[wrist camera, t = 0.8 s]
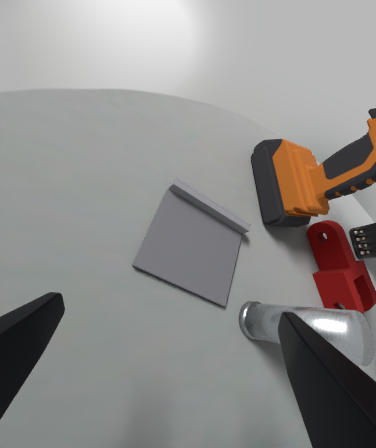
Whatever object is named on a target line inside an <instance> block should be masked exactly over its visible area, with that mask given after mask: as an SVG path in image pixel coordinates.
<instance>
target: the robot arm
mask: <svg viewBox="0 0 376 448" xmlns="http://www.w3.org/2000/svg"><path fill="white" fill-rule="evenodd" d="M64 311H65V307H64V302H63V297H62V294H61V293H56V292H50V293H48V294H45V295H43V296H41V297H39V298H37V299H35V300H33V301H31V302H29V303H27V304H25V305H23V306H21V307H19V308H17V309H15V310H13V311H11V312H9V313H7V314H5V315H3V316H1V317H0V419H1V418H2V416H3V414H4V413H5V411H6V410H7V408H8V407H9V405H10V404H11V402H12V401H13V399H14V397H15V396H16V394H17V393H18V391H19V390H20V388H21V387H22V385H23V383H24V382H25V380H26V379H27V377H28V376H29V374H30V373H31V371H32V369H33V368H34V366H35V365H36V363H37V362H38V360H39V359H40V357H41V355H42V354H43V352H44V350H45V349H46V347H47V345H48V343H49V341H50V339H51V337H52V336H53V334H54V332H55V330H56V328H57V326H58V324H59V322H60V320H61V318H62V316H63V314H64ZM278 335H279V339H280V344H281V348H282V352H283V356H284V361H285V365H286V369H287V373H288V376H289V379H290V383H291V386H292V388H293V391H294V394H295V397H296V400H297V403H298V406H299V409H300V412H301V415H302V418H303V421H304V424H305V427H306V430H307V433H308V435H309V438H310V441H311V444H312V447H313V448H376V381H374V380H373V379H372V378H371V377H370V376H369V375H367V374H366V373H365V372H364V371H363V370H361V369H360V368H359V367H358V366H357V365H355V364H354V363H353V362H352V361H351V360H350V359H348V358H347V357H346V356H345V355H344V354H342V353H341V352H340V351H339V350H338V349H337V348H335V347H334V346H333V345H332V344H331V343H329V342H328V341H327V340H326V339H325V338H323V337H322V336H321V335H320V334H319V333H318V332H316V331H315V330H314V329H313V328H312V327H310V326H309V325H308V324H307V323H306V322H305V321H303V320H302V319H301V318H300V317H299V316H297V315H296V314H295V313H293V312H285V311H284V312H282V314H281V317H280V321H279V324H278Z"/></svg>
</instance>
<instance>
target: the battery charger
mask: <svg viewBox="0 0 376 448" xmlns="http://www.w3.org/2000/svg"><path fill="white" fill-rule="evenodd" d="M350 235H351V239H352V243H353V246H354V249H355V252H356V254H357V256H358V257H359V258H361V259H368V258H376V223H373V224H370V225H365V226H361V227H355V228H352V229H351V230H350Z"/></svg>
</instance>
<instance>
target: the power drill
mask: <svg viewBox="0 0 376 448" xmlns="http://www.w3.org/2000/svg"><path fill="white" fill-rule="evenodd" d="M369 114H370V116H371V118H372V119H368V120H367V123H368V126H369V131H368V133H367V134H366V135H364V136H363V137H362V138H360V139H358V140H356V141H355V142H353V143H351V144H349V145H347V146H345V147H344V148H342V149H341V150H339V151H338V152H336V153H335V154H333V155H332V156H331V157H329V158H328V159H327V160H325V161H324V162H323V163H321V164H320V165H318V166H317V163H316V159H315V157H314V156H313V155H312V153H311V151H310V150H309V149H307V148H304V147H301V146H299V145H297V144H294V143H292V142H289V141H287V140H284V139H273V140H263V141H262V142H260V143H259V144H258V145H256V147H255V149H254V153H253V154H252V156H251V161H252V166H253V171H254V176H255V181H256V186H257V191H258V197H259V202H260V207H261V212H262V217H263V221H264V222H265V223H268V224H271V225H278V226H291V227H299V226H302V225H306V224H309V221H310V219H311V216H315V217H318V214H322V215H327V214H328V211H329V209H330V208H329V204H328V201H329V200H331V199H335V198H338V197H341V196H342V195H344V196H346V195H349V194H352V193H355V192H356V191H357V190H362V189H365V188H367V187H369V186H371V185H372V184H373V183H374V182H376V108H375V109H370V110H369Z"/></svg>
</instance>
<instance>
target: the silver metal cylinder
mask: <svg viewBox="0 0 376 448" xmlns="http://www.w3.org/2000/svg"><path fill="white" fill-rule="evenodd" d="M284 311H285V312H293V313H295V314H296V315H297V316H299V317H300V318H301V319H302V320H303V321H305V322H306V323H307V324H308V325H309V326H310V327H312V328H313V329H314V330H315V331H316V332H318V333H319V334H320V335H321V336H322V337H323V338H325V339H326V340H327V341H328V342H329V343H331V344H332V345H333V346H334V347H335V348H337V349H338V350H339V351H340V352H341V353H342V354H344V355H345V356H346V357H347V358H348V359H350V360H351V361H352V362H353V363H354V364H358V365H362V366H367V365H369V364H370V363H371V361H372V358H373V355H374V340H373V335H372V331H371V328H370V325H369V323H368V321H367V320H366V318H365V317H364V315H363V314H362V313H360V312H359V311H356V310H342V309H327V308H313V307H299V306H285V305H271V304H261V303H259V302H247V303H245V304H244V305H243V307H242V308H241V311H240V314H239V324H240V328H241V330H242V332H243V334H244V335H245V336H246V337H248V338H250V339H254V340H265V341H269V342H272V343H276V344H280V339H279V335H278V324H279V321H280V317H281V314H282V312H284ZM280 345H281V344H280Z"/></svg>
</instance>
